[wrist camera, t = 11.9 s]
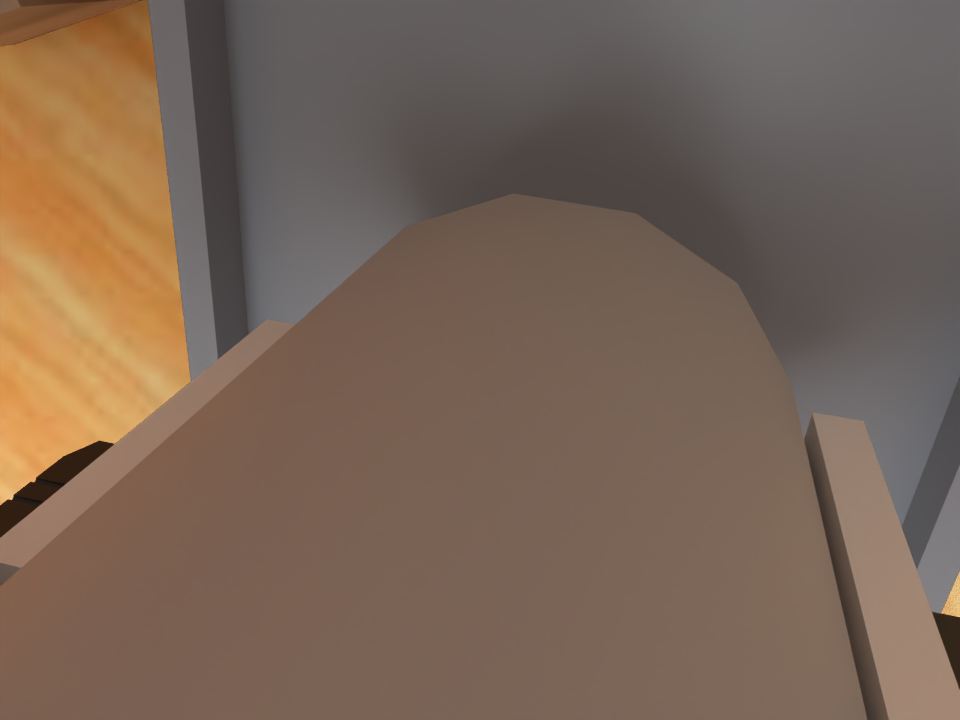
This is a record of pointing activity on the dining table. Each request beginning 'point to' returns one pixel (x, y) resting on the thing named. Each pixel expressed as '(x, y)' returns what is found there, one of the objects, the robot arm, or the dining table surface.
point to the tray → (602, 174)
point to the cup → (463, 508)
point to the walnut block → (47, 16)
